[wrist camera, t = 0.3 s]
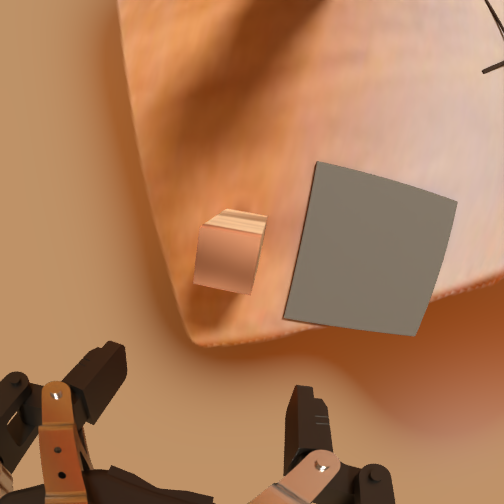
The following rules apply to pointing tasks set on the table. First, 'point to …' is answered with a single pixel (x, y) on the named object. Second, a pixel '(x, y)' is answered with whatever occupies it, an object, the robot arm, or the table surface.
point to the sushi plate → (503, 32)
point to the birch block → (230, 251)
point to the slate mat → (368, 252)
